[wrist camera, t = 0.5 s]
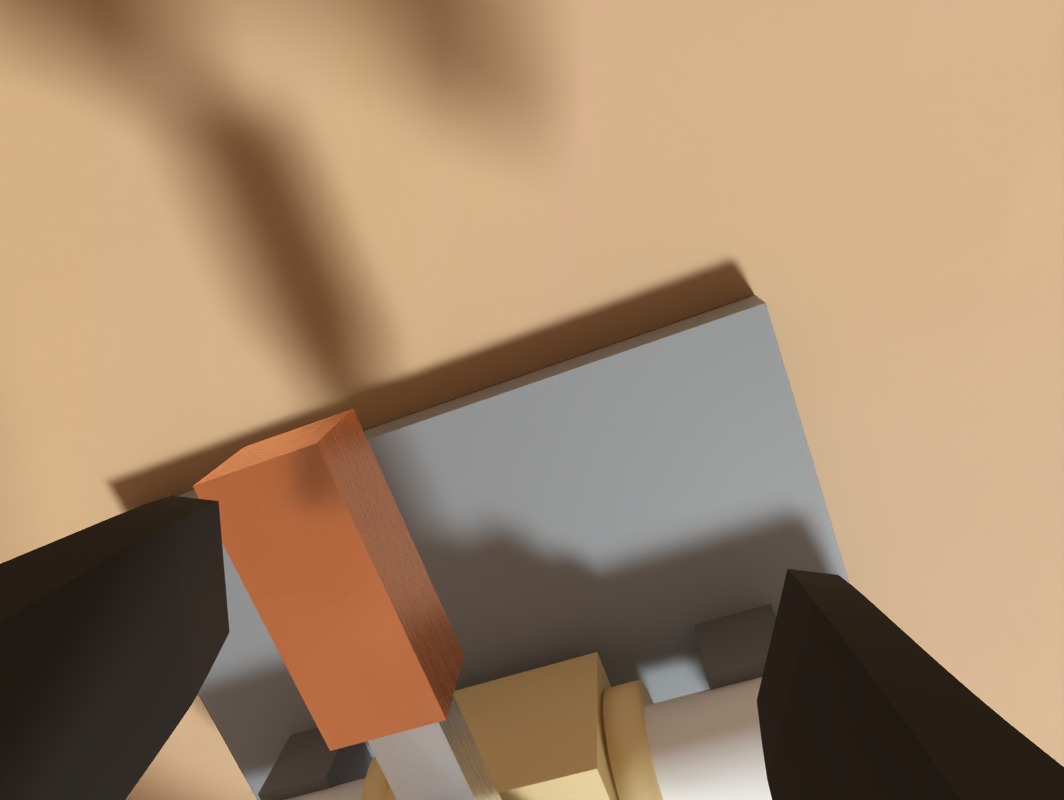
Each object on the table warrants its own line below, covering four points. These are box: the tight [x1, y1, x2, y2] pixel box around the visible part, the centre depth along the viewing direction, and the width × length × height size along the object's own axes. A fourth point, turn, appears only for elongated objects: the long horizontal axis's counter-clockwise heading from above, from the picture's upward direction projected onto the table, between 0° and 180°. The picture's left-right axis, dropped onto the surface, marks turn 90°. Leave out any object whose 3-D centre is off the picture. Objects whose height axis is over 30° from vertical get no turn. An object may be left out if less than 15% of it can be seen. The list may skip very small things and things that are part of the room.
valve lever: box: [193, 409, 502, 800], centre depth 14 cm, size 12×2×2 cm, turn 21°
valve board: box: [177, 295, 849, 800], centre depth 19 cm, size 18×14×6 cm
